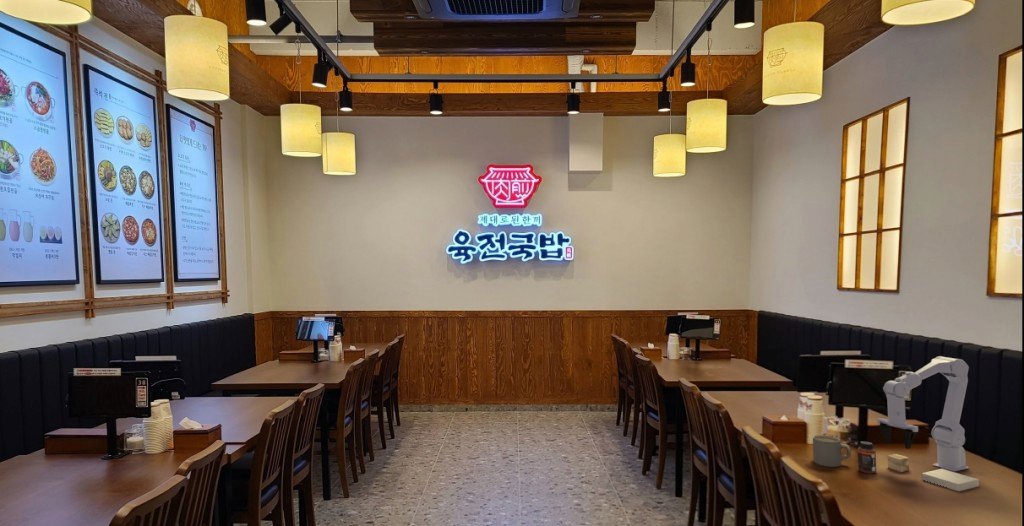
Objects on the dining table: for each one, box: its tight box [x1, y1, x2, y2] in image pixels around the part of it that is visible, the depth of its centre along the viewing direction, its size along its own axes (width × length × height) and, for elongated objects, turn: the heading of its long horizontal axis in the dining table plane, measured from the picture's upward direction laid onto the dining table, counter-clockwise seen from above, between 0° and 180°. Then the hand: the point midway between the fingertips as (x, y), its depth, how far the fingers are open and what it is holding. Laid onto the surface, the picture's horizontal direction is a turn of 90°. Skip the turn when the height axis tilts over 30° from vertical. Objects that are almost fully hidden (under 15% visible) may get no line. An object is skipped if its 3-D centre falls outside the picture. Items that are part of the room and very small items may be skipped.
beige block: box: [921, 468, 980, 492], centre depth 196 cm, size 12×12×3 cm
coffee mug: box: [812, 434, 852, 468], centre depth 218 cm, size 13×10×10 cm
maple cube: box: [887, 453, 910, 473], centre depth 211 cm, size 5×5×5 cm
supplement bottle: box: [857, 440, 877, 475], centre depth 209 cm, size 6×6×11 cm
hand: (897, 445), depth 211 cm, fingers open, 7 cm apart
